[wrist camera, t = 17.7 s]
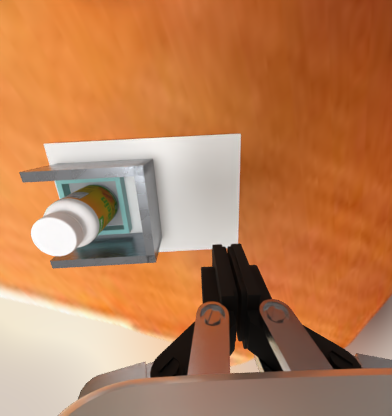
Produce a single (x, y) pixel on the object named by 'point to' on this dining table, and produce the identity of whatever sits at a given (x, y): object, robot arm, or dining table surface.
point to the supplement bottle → (74, 220)
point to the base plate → (168, 185)
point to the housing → (112, 243)
